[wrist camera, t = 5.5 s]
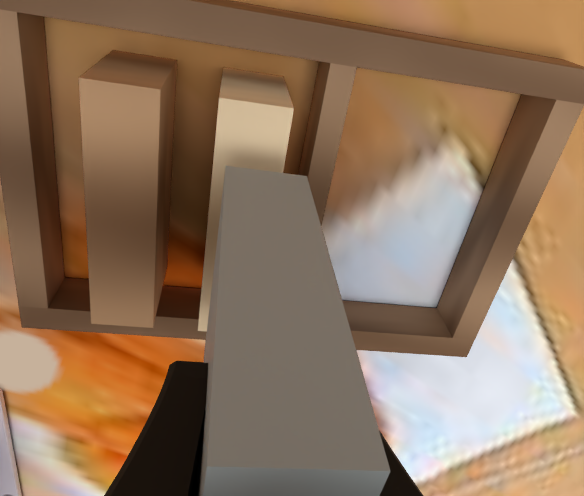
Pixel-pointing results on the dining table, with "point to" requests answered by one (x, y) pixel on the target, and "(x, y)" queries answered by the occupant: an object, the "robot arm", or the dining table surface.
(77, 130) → the dining table surface
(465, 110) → the dining table surface
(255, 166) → the birch offcut
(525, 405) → the dining table surface
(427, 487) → the dining table surface
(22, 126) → the walnut rack
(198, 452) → the robot arm
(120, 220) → the stained offcut
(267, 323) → the grey rectangular block
